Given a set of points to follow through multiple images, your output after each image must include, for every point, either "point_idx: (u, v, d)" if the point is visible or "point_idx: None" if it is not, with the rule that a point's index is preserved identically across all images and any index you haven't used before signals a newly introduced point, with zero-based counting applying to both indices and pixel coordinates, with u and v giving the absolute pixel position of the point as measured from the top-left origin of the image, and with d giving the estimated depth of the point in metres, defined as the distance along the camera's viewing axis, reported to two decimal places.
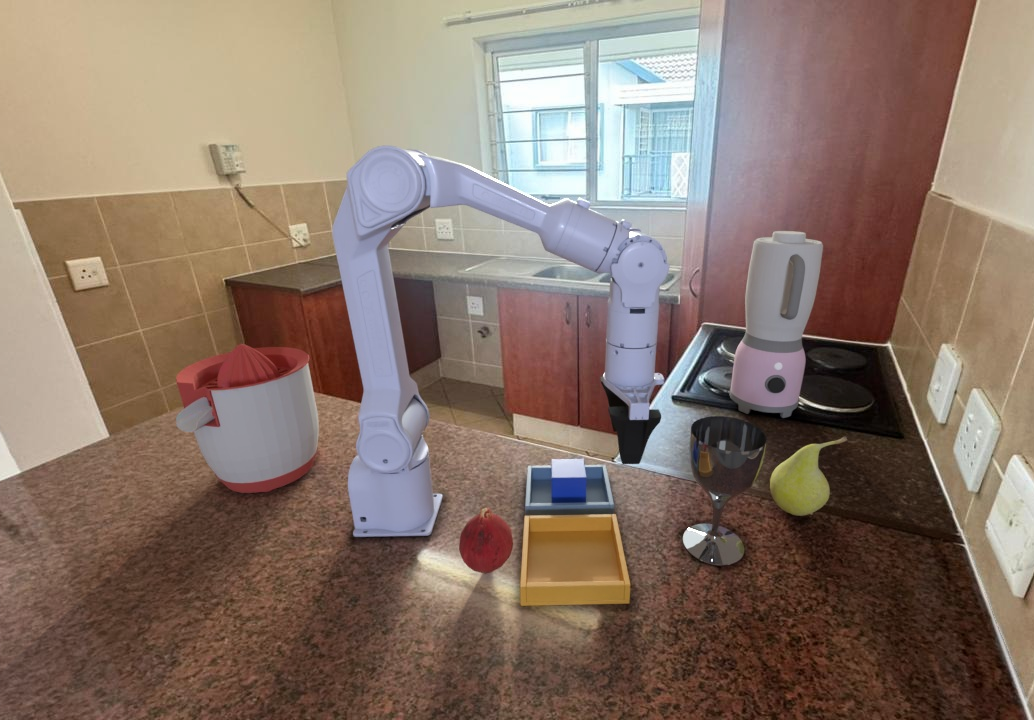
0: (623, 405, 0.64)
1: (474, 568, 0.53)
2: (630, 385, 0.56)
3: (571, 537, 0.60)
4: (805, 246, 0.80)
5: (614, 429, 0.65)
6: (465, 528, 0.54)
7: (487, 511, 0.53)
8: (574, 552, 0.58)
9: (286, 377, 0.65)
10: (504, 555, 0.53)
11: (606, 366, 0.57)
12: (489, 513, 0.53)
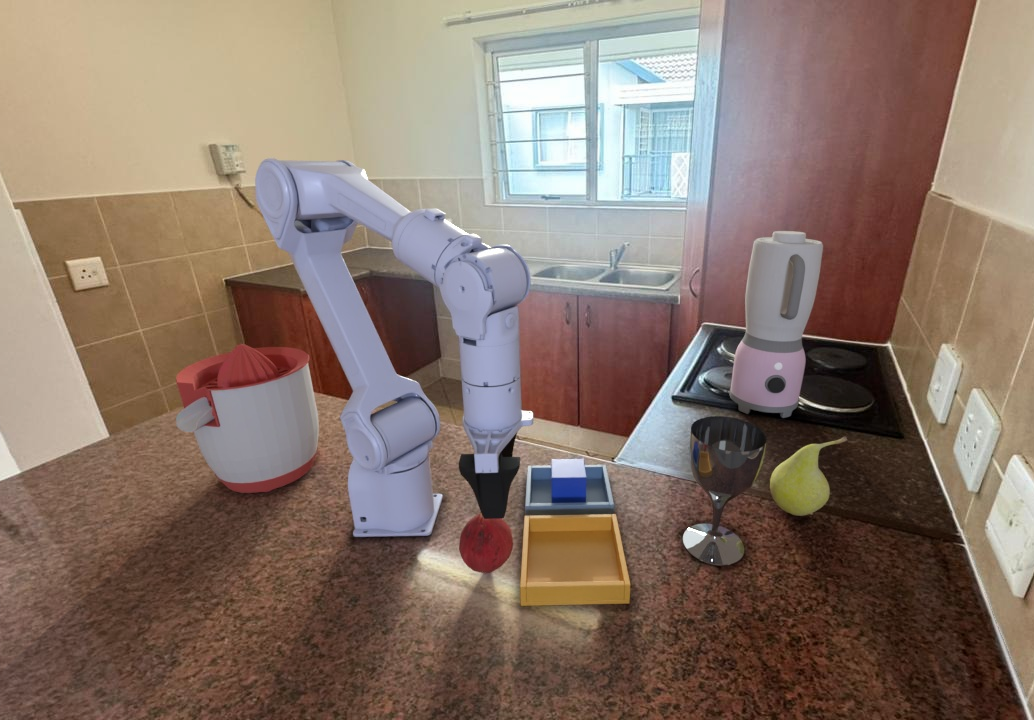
0: None
1: (474, 568, 0.53)
2: (487, 428, 0.47)
3: (571, 537, 0.60)
4: (805, 246, 0.80)
5: None
6: (465, 528, 0.54)
7: None
8: (574, 552, 0.58)
9: (286, 377, 0.65)
10: (504, 555, 0.53)
11: (463, 405, 0.49)
12: None
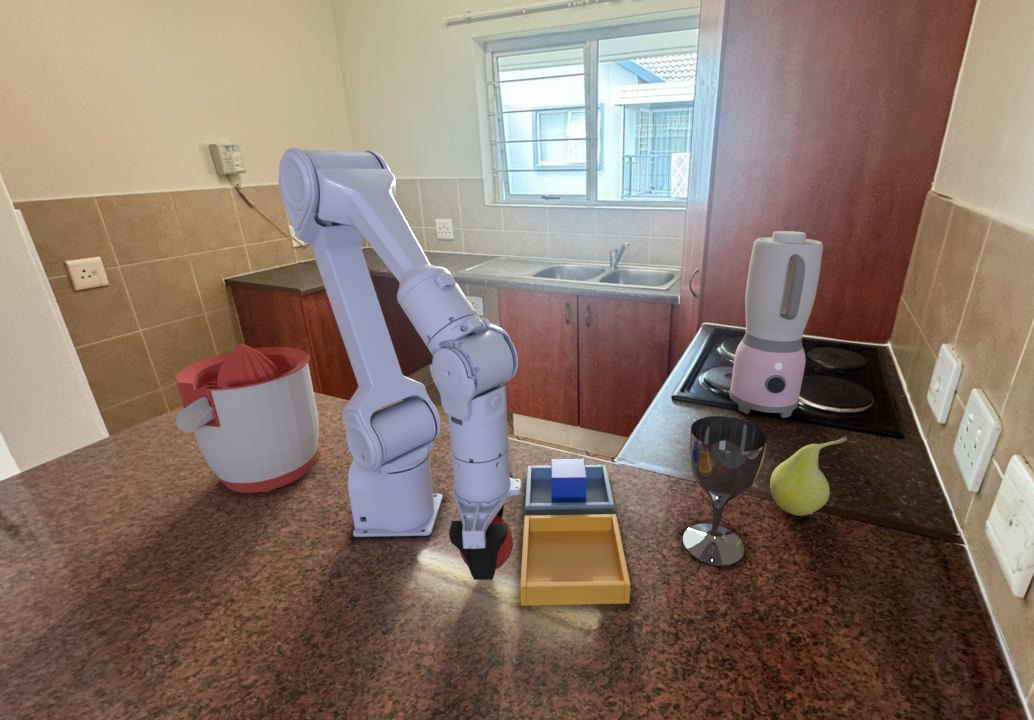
0: None
1: None
2: (475, 500, 0.49)
3: (571, 537, 0.60)
4: (805, 246, 0.80)
5: None
6: None
7: None
8: (574, 552, 0.58)
9: (286, 377, 0.65)
10: (504, 554, 0.53)
11: (453, 475, 0.51)
12: None
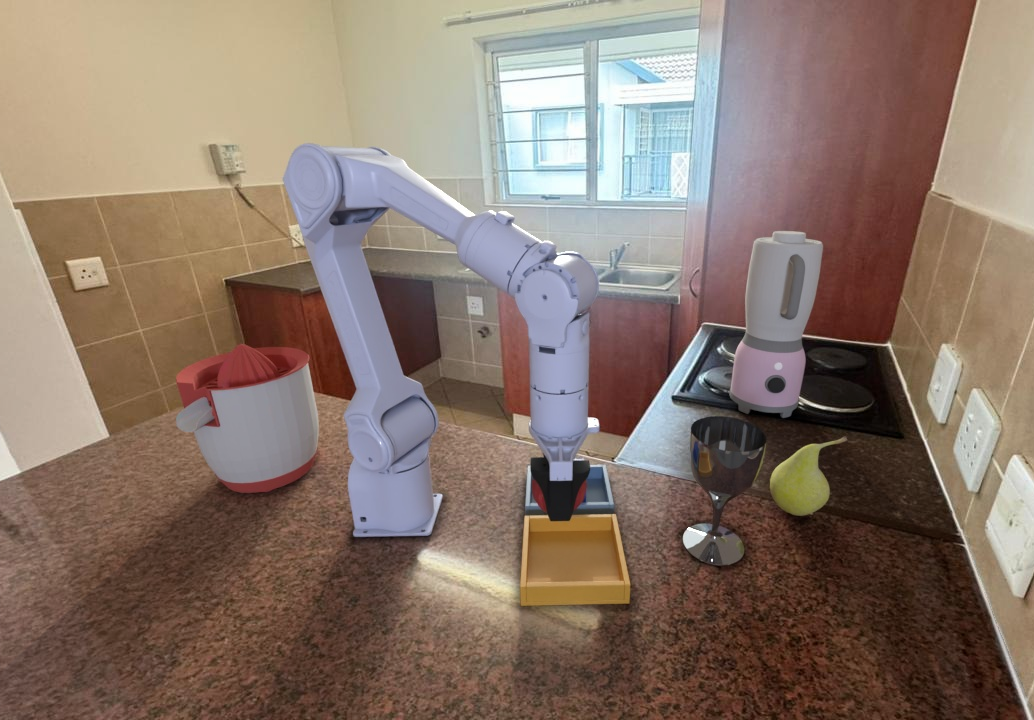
0: None
1: None
2: (556, 436, 0.47)
3: (571, 537, 0.60)
4: (805, 246, 0.80)
5: None
6: None
7: None
8: (574, 552, 0.58)
9: (286, 377, 0.65)
10: (580, 496, 0.51)
11: (530, 412, 0.49)
12: None
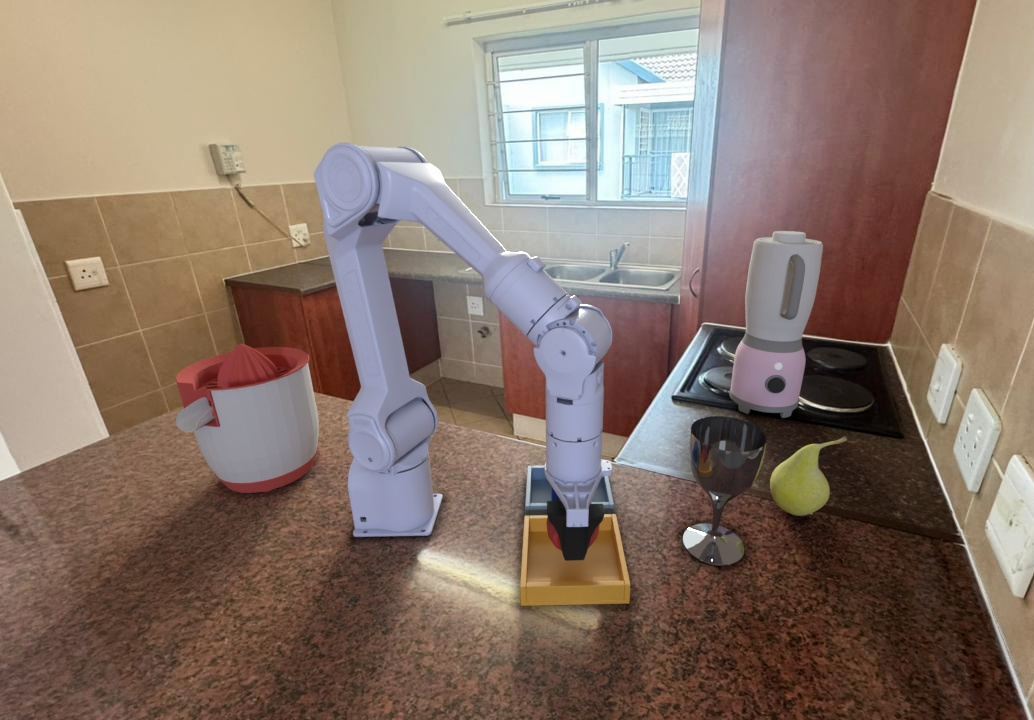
0: None
1: None
2: (571, 480, 0.49)
3: None
4: (805, 246, 0.80)
5: None
6: None
7: None
8: None
9: (286, 377, 0.65)
10: (593, 535, 0.53)
11: (546, 456, 0.51)
12: None
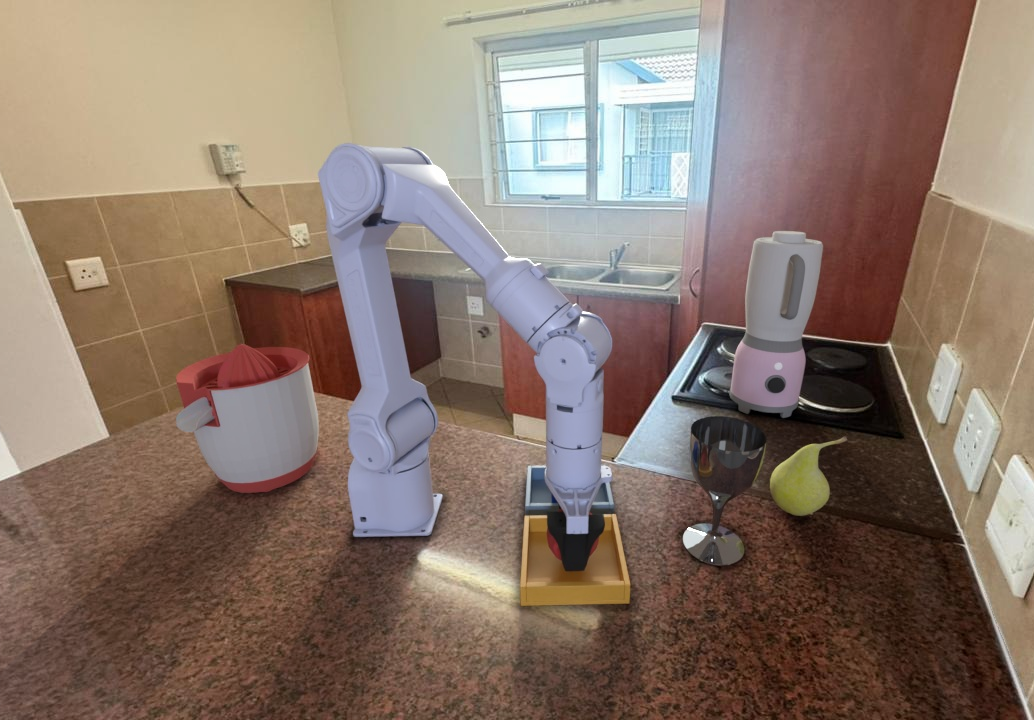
0: None
1: None
2: (571, 487, 0.50)
3: None
4: (805, 246, 0.80)
5: None
6: None
7: None
8: None
9: (286, 377, 0.65)
10: (593, 546, 0.53)
11: (546, 462, 0.51)
12: None
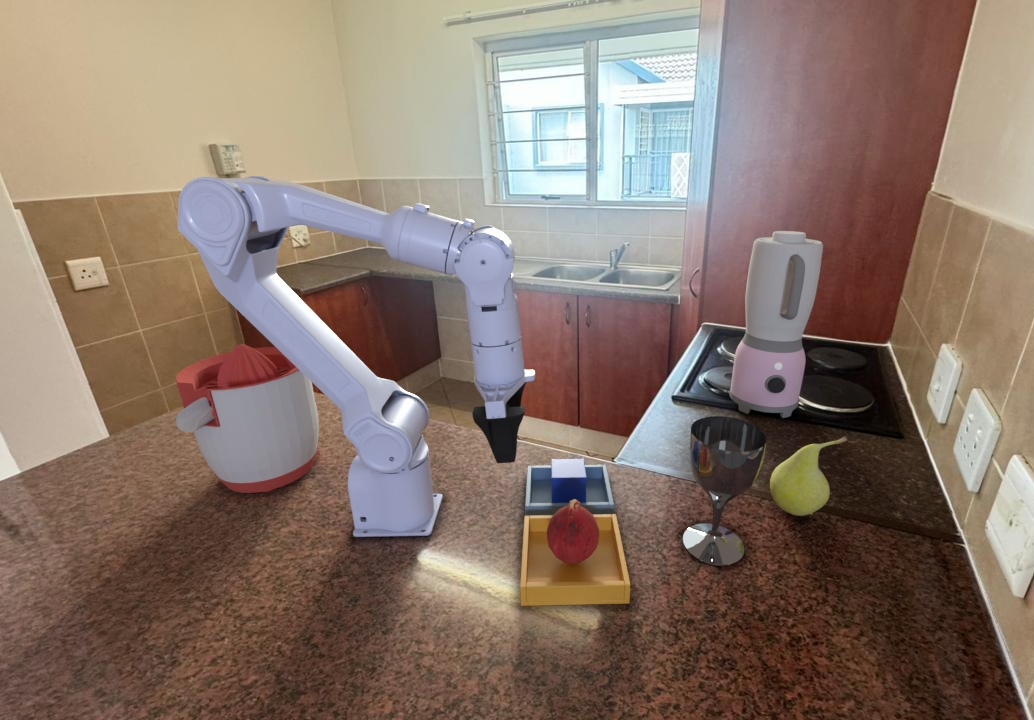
0: (508, 404, 0.63)
1: (564, 559, 0.53)
2: (495, 383, 0.55)
3: None
4: (805, 246, 0.80)
5: None
6: (554, 519, 0.54)
7: (576, 502, 0.54)
8: None
9: (286, 377, 0.65)
10: (593, 546, 0.53)
11: (474, 366, 0.57)
12: (578, 504, 0.54)
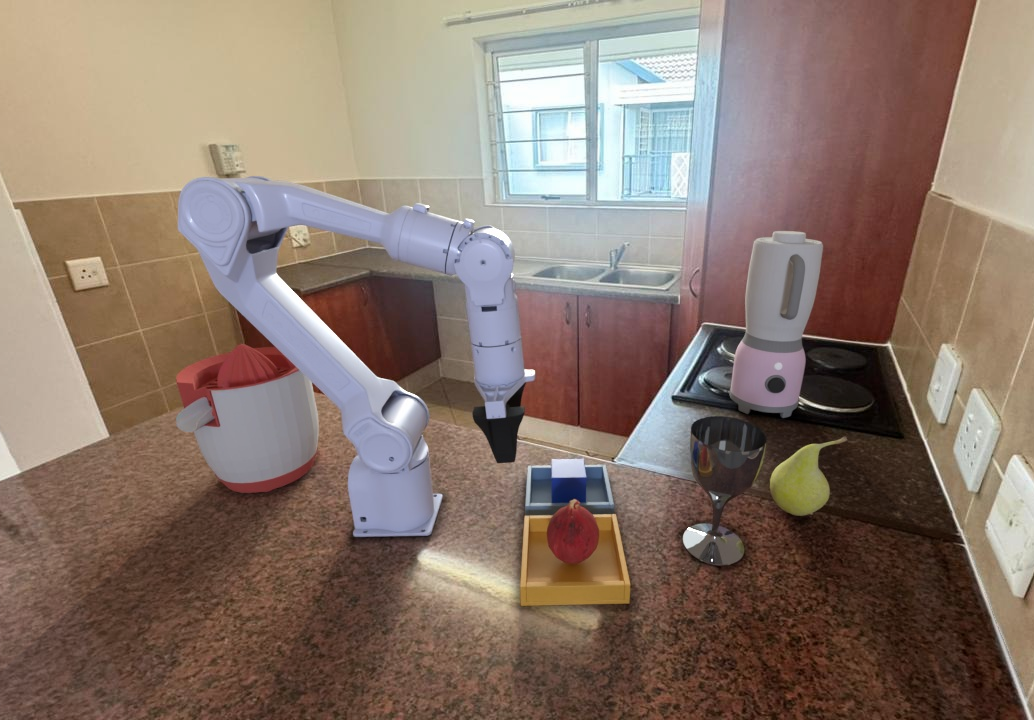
0: (508, 403, 0.63)
1: (564, 559, 0.53)
2: (495, 383, 0.55)
3: None
4: (805, 246, 0.80)
5: None
6: (554, 519, 0.54)
7: (576, 502, 0.54)
8: None
9: (286, 377, 0.65)
10: (593, 546, 0.53)
11: (474, 366, 0.57)
12: (578, 504, 0.54)
